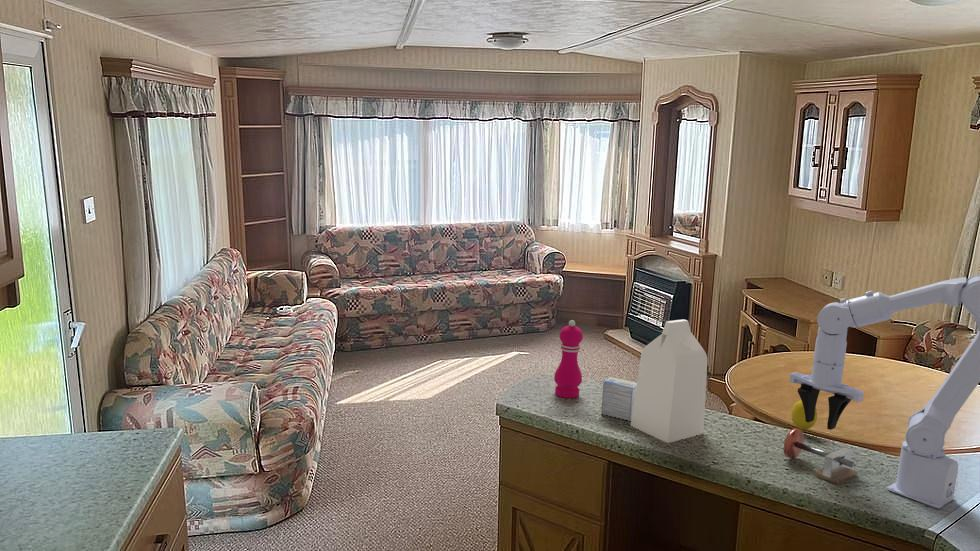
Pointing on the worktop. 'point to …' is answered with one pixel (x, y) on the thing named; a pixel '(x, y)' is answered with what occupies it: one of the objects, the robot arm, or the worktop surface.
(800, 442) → the red wheel with axle
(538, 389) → the worktop surface
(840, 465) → the eye bracket
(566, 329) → the pepper mill
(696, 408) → the milk
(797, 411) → the lemon
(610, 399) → the grey rectangular block
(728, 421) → the worktop surface
